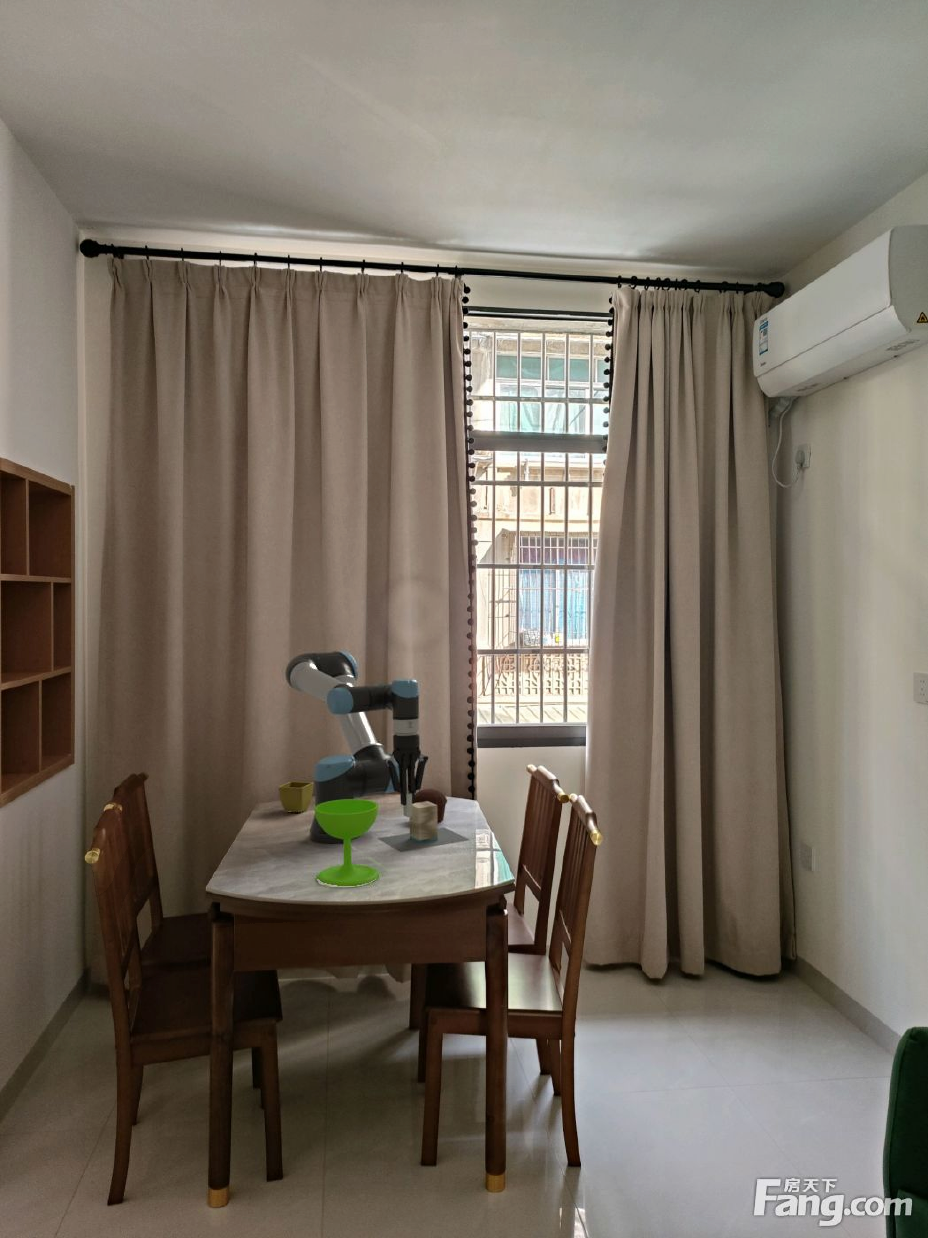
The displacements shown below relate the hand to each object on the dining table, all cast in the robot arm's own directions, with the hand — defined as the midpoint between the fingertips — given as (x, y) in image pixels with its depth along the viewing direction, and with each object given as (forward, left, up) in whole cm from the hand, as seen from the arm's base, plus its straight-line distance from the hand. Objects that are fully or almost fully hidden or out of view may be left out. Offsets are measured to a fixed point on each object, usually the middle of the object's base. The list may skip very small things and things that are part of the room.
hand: (407, 815), depth 246 cm
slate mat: (+5, 0, -8) cm, 10 cm away
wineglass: (-26, -19, -8) cm, 33 cm away
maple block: (+5, 0, -8) cm, 9 cm away
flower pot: (-15, +54, -8) cm, 57 cm away
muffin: (+16, +18, -8) cm, 26 cm away
